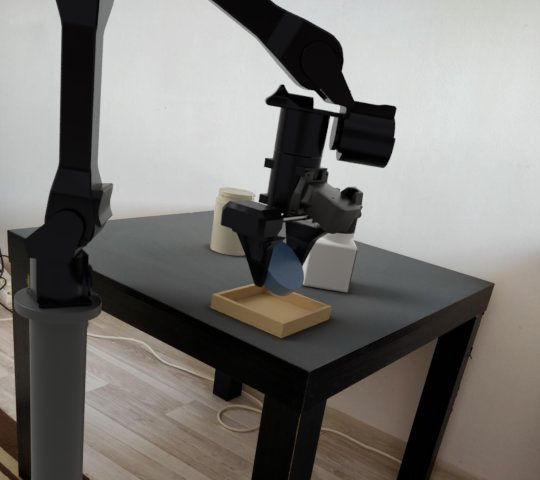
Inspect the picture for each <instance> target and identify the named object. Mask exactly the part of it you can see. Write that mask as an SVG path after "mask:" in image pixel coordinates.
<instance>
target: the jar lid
mask: <svg viewBox="0 0 540 480" xmlns="http://www.w3.org/2000/svg"><path fill="white" fill-rule="evenodd" d="M303 281H304V272H303V268H302V265H301V263H300V261H299V259H298V257H297V255H296V254H295V252H294V251H293V250H292V249H291V248H290V247H289V246H288V245H287V244H286V241H284V240H283V241H282V242H281V243H279V244H278V245H277V246H275V247H274V249H273V253H272V257H271V261H270V265H269V269H268V273H267V276H266V280H265V283H264V286H265V287H266V288H267V289H268V290H269V291H271V292H272V293H274V294H276V295H278V296H288V295H290V294H291V293H293V292H296V291H298V290H299V289H300V288H301V287H302V286H303Z"/></svg>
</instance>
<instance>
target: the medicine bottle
mask: <svg viewBox="0 0 540 480" xmlns="http://www.w3.org/2000/svg"><path fill="white" fill-rule="evenodd" d="M358 220H359V218H357V219H354V220H353V222H352V224H351V225H350V227H349V229H348V230H347V232H343V231H340V232H337V233H336V234H330V233H328V234H326V235H324V236H323V237H321V238H319V239H318V240H317V241H316V243H315V244H314V246H313V248H312V249H311V251H310V253H309V255H308V257H307V259H306V261H305V262H304V264H303V266H302V268H303V272H304V281H303V284H302V286H304V287H307V288H308V287H309V288H314V289H322V290H328V291H334V292H339V293H348V292H349V291H350V290H349V289H350V285H351V280H352V276H353V272H354V268H355V264H356V259H357V255H358V251H359V250H358V249H359V248H358V247H357V245H356V242H355V241H354V239H353V238H355V237H354V236H355V233H356V228H357V225H358Z"/></svg>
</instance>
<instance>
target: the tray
mask: <svg viewBox="0 0 540 480" xmlns="http://www.w3.org/2000/svg"><path fill="white" fill-rule="evenodd" d="M210 309H212V310H214V311H217V312H219V313H221V314H223V315H226V316H228V317H231V318H233V319H235V320H237V321H240V322H242V323H244V324H247V325H249V326H252V327H254V328H255V329H259V330H261V331H264V332H266V333H268V334H270V335H272V336H275V337H278V338H279V339H283V338H286V337H288V336H291V335H294V334H296V333H299V332H300V331H303V330H305V329H308V328H310V327H313V326H316V325H318V324H322V323H323V322H326V321H328V320H330V315H331V311H332V305H329V304H326V303H325V302H321V301H318V300H316V299H313V298H311V297H307V296H305V295H303V294H300V293H297V292H296V291H294V292H293V293H291V294H290V295H288V296H278V295H276V294H274V293H272V292H271V291H269V290H268V289H267V288H266V287H265V286H264V285H263V287H258V286H255V285H254V283H251V284H247V285H243V286H238V287H234V288H232V289H227V290H223V291H218V292H215V293H212V295H211V303H210Z"/></svg>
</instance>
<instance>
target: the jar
mask: <svg viewBox="0 0 540 480" xmlns="http://www.w3.org/2000/svg"><path fill="white" fill-rule="evenodd" d="M255 198H256V193H254V192H253V191H251V190H246V189H242V188H237V187H229V186H228V187H227V186H225V187H219V190H218V196H217V197H215V203H214V210H213V219H212V227H211V235H210V244H209V249H211V250H212V251H213V252H216V253H218V254H222V255H226V256H233V257H242V256H243V257H244V256H245V253H244V250H243V248H242V245H241V243H240V240H239V238H238V235H237V233H236V232H233V231H232V229H231V228H228V227H225V226H222V225H221V224H220V222H221V214H222V207H223V206H224V205H225V204H227V203H228V202H229V201H236V200H251V201H254V202H255Z"/></svg>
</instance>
